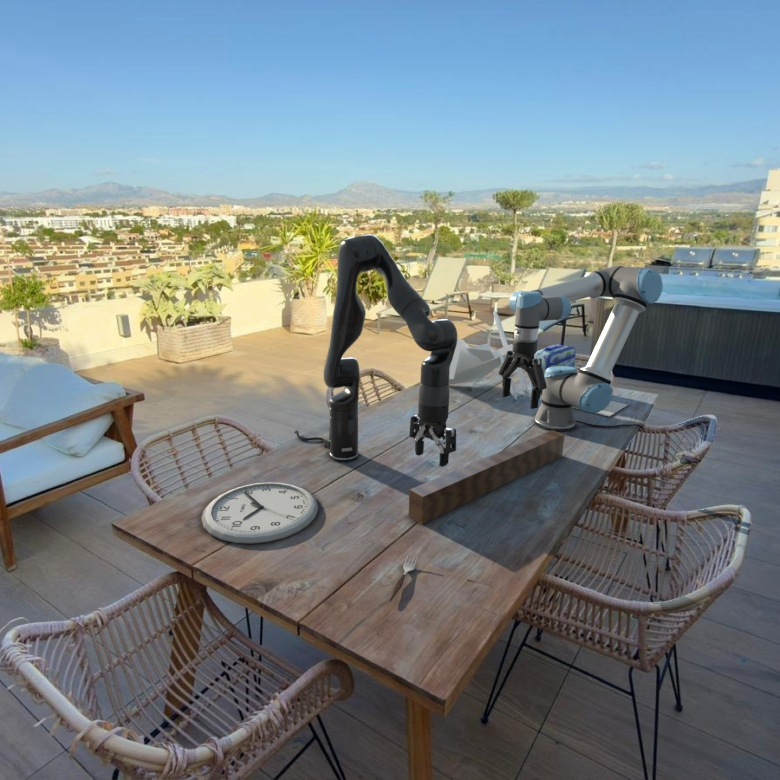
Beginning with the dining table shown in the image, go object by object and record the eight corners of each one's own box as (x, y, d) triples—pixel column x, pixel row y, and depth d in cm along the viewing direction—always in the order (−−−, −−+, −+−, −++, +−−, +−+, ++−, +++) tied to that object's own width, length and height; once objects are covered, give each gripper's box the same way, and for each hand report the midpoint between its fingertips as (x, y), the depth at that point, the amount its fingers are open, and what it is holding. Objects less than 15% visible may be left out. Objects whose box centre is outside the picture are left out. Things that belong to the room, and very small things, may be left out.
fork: (383, 601, 106) (384, 593, 106) (408, 557, 120) (408, 550, 120) (396, 605, 105) (396, 596, 105) (419, 560, 120) (419, 552, 119)
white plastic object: (461, 429, 252) (437, 405, 227) (444, 352, 274) (420, 323, 250) (535, 404, 240) (518, 377, 215) (510, 326, 262) (492, 293, 237)
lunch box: (547, 397, 237) (552, 352, 231) (526, 391, 245) (531, 348, 238) (574, 386, 255) (580, 344, 249) (554, 381, 262) (559, 340, 256)
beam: (549, 451, 180) (551, 430, 177) (562, 456, 176) (564, 434, 174) (408, 516, 138) (409, 489, 136) (421, 524, 134) (422, 496, 132)
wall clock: (315, 535, 126) (186, 539, 123) (315, 541, 126) (187, 545, 123) (320, 478, 154) (216, 480, 152) (320, 483, 155) (216, 485, 152)
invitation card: (608, 416, 214) (573, 407, 224) (608, 416, 214) (573, 408, 224) (628, 404, 229) (594, 396, 238) (628, 405, 229) (594, 397, 238)
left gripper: (403, 396, 132) (401, 454, 137) (444, 411, 122) (441, 473, 127) (424, 390, 137) (422, 447, 142) (465, 404, 127) (461, 465, 132)
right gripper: (491, 334, 178) (486, 393, 184) (545, 349, 157) (537, 415, 163) (508, 332, 181) (503, 390, 187) (563, 346, 160) (555, 411, 167)
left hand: (431, 459), depth 135 cm, fingers open, 8 cm apart
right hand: (519, 402), depth 175 cm, fingers open, 13 cm apart
